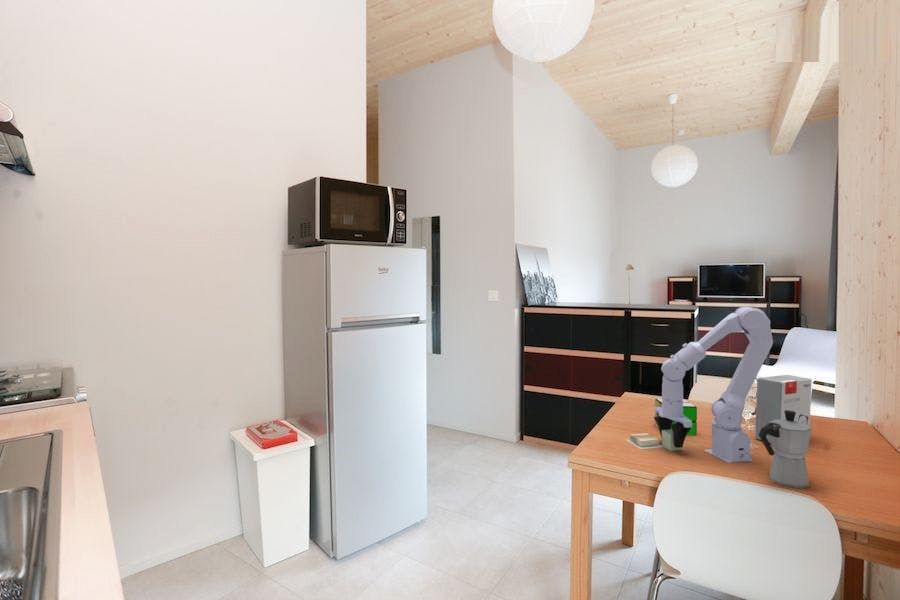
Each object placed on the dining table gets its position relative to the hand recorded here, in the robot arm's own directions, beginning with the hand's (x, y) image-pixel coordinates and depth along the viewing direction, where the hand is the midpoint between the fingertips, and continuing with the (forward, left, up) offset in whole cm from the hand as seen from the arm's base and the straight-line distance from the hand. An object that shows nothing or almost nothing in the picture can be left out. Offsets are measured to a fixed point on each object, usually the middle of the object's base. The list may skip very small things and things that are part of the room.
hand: (671, 443), depth 135 cm
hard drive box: (0, -40, -2) cm, 40 cm away
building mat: (+4, +3, -2) cm, 6 cm away
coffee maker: (-24, -14, -2) cm, 28 cm away
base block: (+5, +6, -1) cm, 8 cm away
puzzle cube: (+14, -12, -2) cm, 19 cm away
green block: (0, 0, -1) cm, 1 cm away
